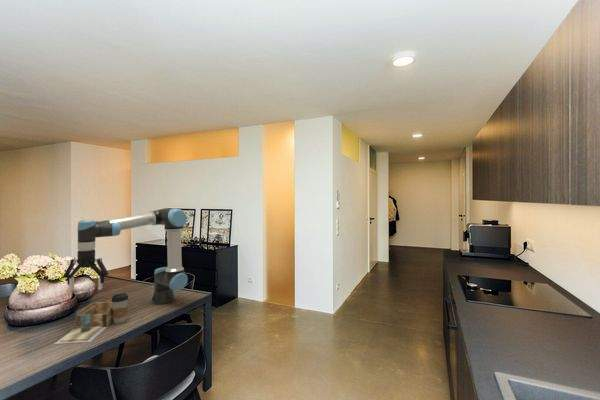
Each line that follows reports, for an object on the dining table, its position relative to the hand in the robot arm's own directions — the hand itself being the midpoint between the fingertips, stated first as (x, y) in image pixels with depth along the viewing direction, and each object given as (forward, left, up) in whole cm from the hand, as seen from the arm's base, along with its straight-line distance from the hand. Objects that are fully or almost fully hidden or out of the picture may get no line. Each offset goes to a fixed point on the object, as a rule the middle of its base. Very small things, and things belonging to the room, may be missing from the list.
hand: (86, 290), depth 151 cm
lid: (0, +3, -22) cm, 22 cm away
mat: (0, +3, -23) cm, 23 cm away
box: (0, -14, -23) cm, 27 cm away
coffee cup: (-11, -12, -23) cm, 28 cm away
